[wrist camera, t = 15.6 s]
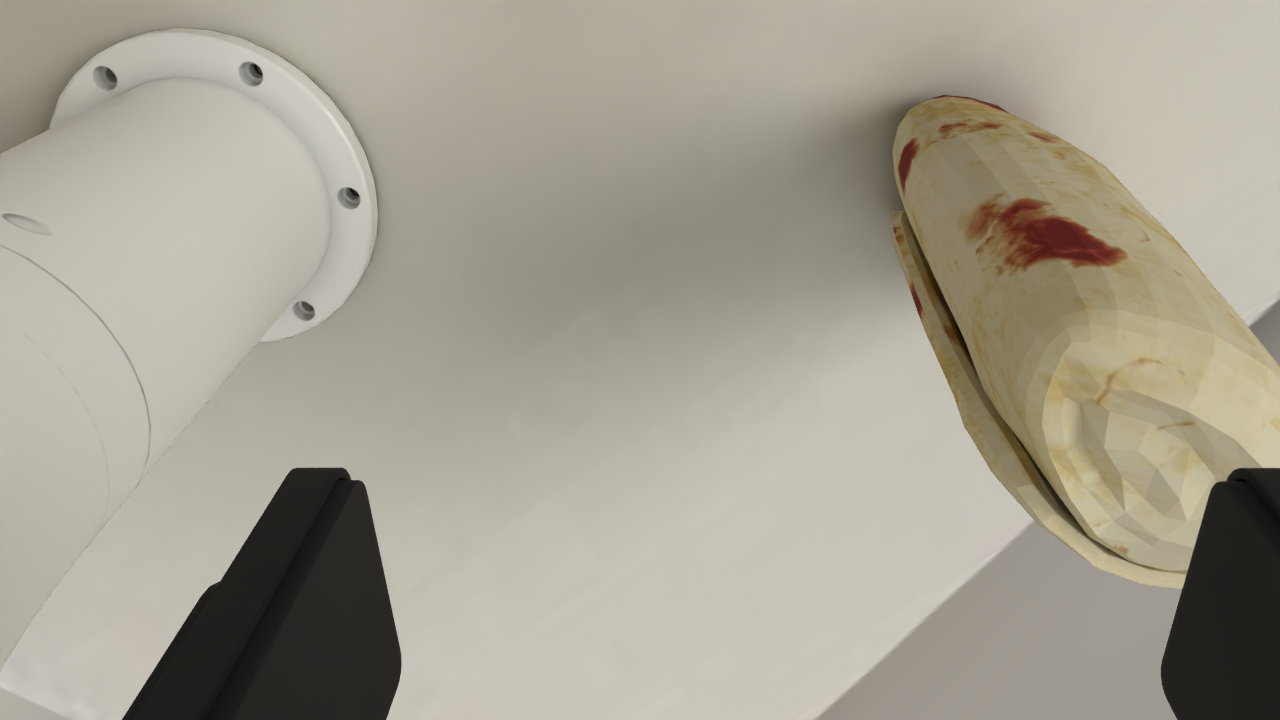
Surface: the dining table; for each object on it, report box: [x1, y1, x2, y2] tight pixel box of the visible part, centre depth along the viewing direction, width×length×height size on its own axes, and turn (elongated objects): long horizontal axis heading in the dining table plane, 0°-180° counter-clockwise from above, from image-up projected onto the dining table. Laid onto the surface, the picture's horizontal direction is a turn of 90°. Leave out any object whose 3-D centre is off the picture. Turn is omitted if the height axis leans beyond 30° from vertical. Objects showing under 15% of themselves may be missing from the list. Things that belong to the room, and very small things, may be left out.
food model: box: [891, 95, 1280, 589], centre depth 29 cm, size 10×7×20 cm
